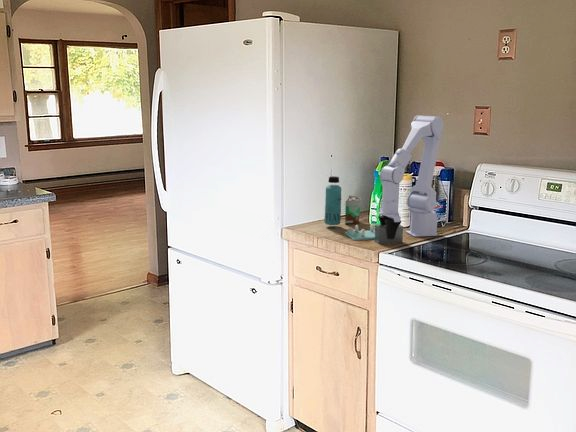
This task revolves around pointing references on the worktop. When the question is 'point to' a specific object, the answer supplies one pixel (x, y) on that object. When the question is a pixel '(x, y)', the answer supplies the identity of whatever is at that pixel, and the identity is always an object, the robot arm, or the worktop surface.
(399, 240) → the dark grey block
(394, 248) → the worktop surface
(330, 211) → the beverage bottle
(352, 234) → the tray
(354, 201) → the food container
